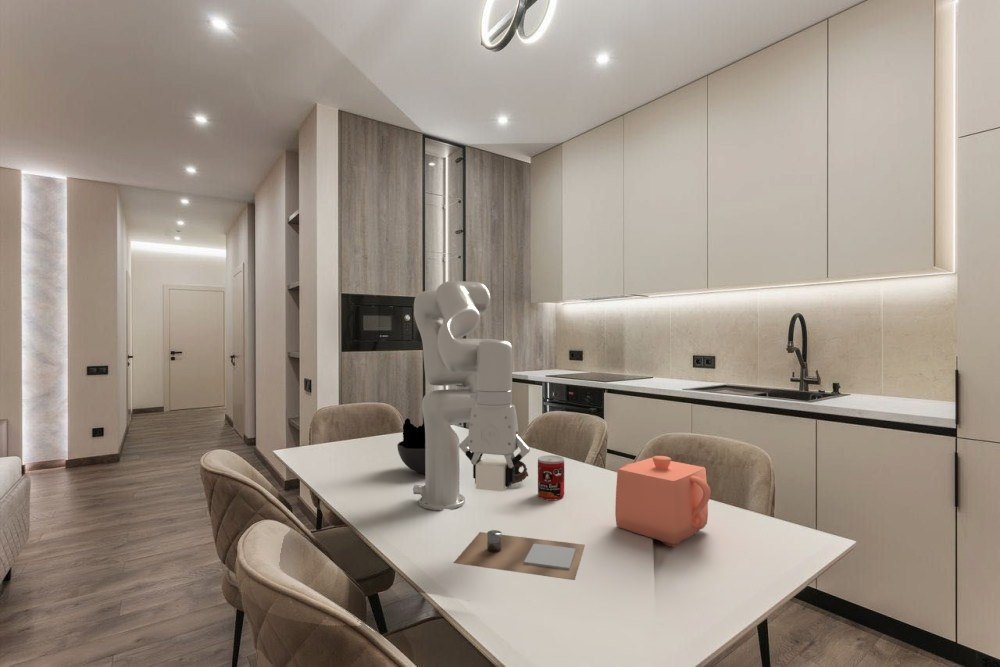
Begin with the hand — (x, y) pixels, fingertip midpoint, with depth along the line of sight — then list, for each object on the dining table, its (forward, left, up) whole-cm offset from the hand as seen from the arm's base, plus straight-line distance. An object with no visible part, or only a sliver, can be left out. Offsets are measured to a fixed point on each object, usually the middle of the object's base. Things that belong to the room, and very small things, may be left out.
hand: (493, 482), depth 103 cm
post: (0, 0, -14) cm, 14 cm away
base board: (+6, 0, -15) cm, 17 cm away
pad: (+12, 0, -14) cm, 19 cm away
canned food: (+4, +43, -16) cm, 46 cm away
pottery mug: (-11, +53, -16) cm, 56 cm away
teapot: (+36, +27, -16) cm, 48 cm away
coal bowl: (-42, +56, -16) cm, 71 cm away
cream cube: (0, 0, -1) cm, 1 cm away
